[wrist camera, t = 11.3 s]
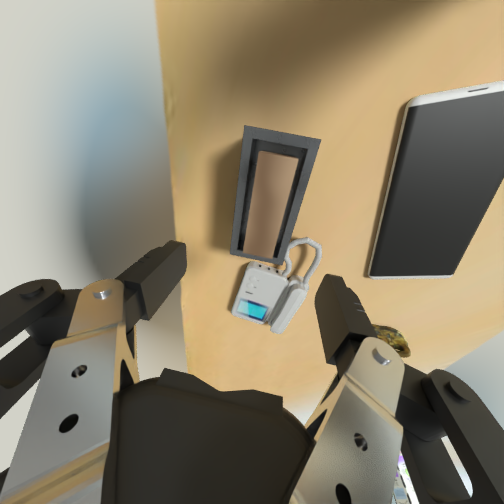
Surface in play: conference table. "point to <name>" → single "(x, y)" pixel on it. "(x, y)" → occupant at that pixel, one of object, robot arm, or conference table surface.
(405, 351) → the seal
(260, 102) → the conference table surface
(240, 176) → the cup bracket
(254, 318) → the intercom
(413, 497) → the candy box
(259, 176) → the brown rectangular block
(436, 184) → the smartphone
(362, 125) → the conference table surface
